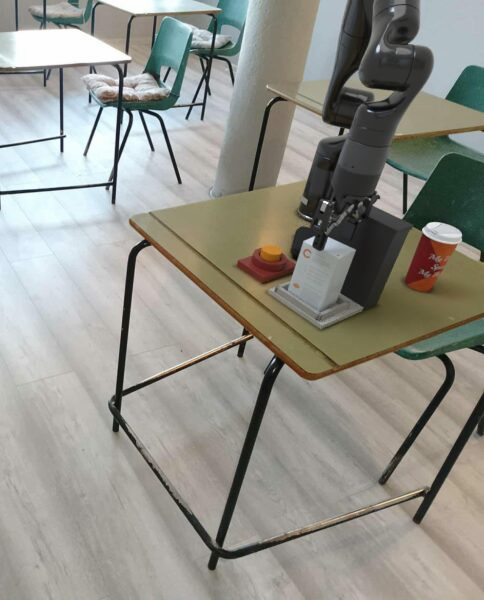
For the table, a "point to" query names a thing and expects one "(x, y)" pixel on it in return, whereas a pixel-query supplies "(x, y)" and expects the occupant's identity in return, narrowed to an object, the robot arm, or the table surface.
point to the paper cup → (432, 255)
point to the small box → (321, 273)
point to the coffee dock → (357, 268)
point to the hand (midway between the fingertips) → (331, 243)
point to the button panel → (265, 267)
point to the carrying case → (301, 239)
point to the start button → (271, 253)
